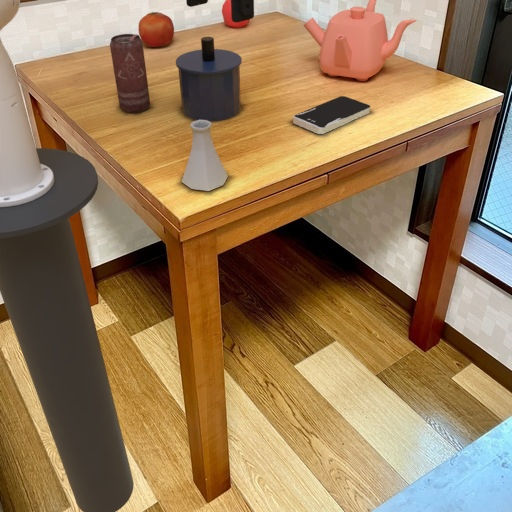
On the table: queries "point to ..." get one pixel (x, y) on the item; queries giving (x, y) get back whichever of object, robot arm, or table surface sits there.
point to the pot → (210, 95)
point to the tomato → (156, 29)
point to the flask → (203, 160)
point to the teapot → (355, 42)
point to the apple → (228, 17)
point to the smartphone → (331, 114)
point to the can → (130, 73)
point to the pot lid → (208, 59)
